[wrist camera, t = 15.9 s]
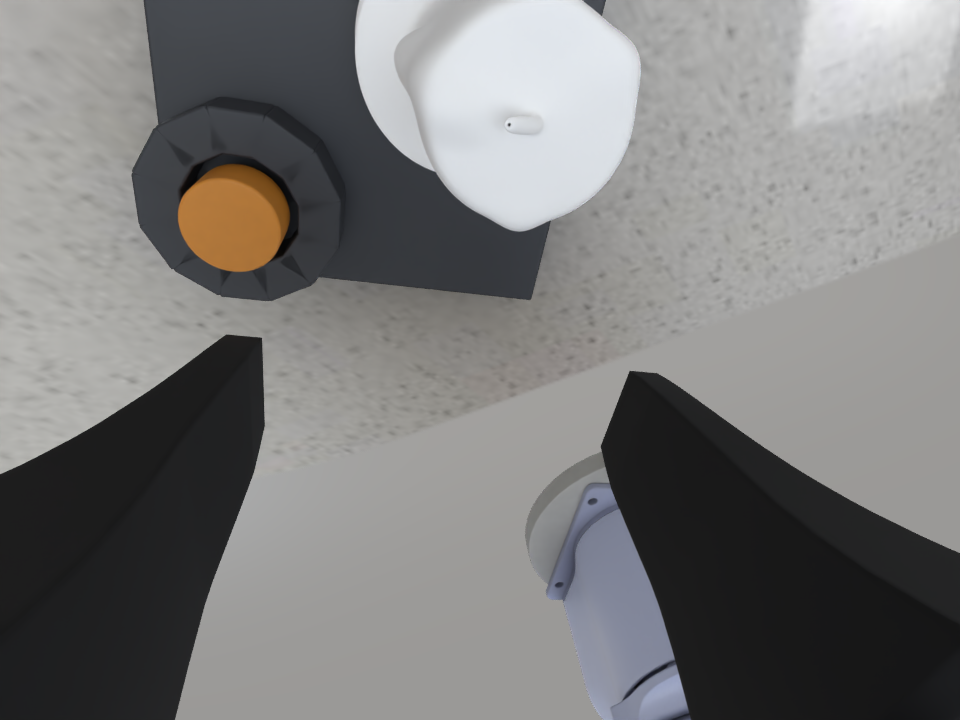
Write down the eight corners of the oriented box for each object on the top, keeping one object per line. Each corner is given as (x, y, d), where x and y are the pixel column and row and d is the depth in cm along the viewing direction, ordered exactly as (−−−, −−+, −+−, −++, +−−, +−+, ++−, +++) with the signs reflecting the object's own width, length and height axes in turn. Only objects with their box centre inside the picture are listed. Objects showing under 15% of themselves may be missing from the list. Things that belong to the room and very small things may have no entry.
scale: (522, 290, 22) (538, 329, 19) (180, 251, 19) (147, 290, 17) (619, -115, 15) (662, -136, 13) (124, -248, 13) (57, -307, 10)
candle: (344, 122, 16) (254, 323, 6) (370, -106, 14) (286, -391, 4) (517, 163, 18) (671, 385, 8) (573, -40, 15) (930, -113, 5)
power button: (290, 256, 17) (281, 278, 16) (198, 245, 17) (182, 267, 15) (290, 170, 16) (280, 185, 14) (190, 156, 15) (171, 171, 14)
